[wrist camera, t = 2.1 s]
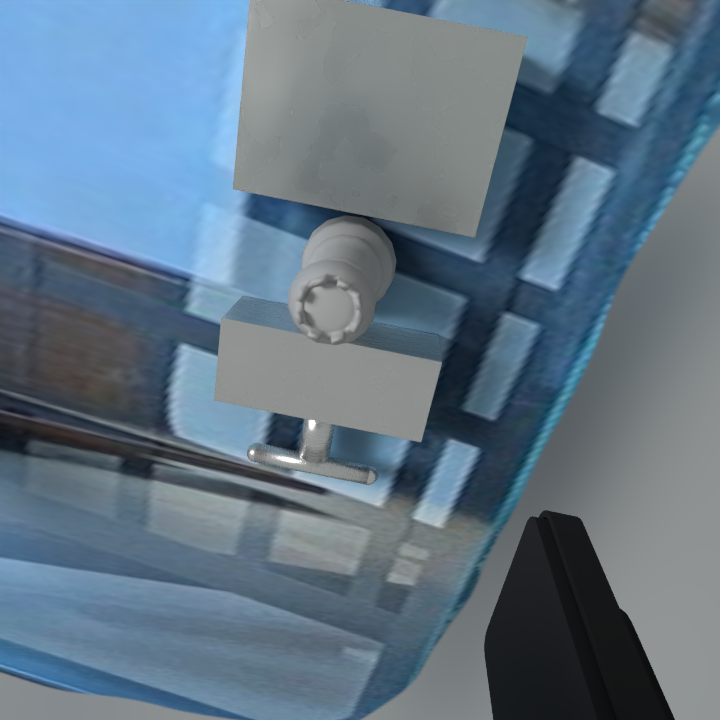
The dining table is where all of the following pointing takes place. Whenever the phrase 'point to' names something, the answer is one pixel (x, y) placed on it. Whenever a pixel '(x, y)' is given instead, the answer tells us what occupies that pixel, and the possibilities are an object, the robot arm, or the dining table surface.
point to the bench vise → (358, 197)
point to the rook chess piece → (341, 279)
